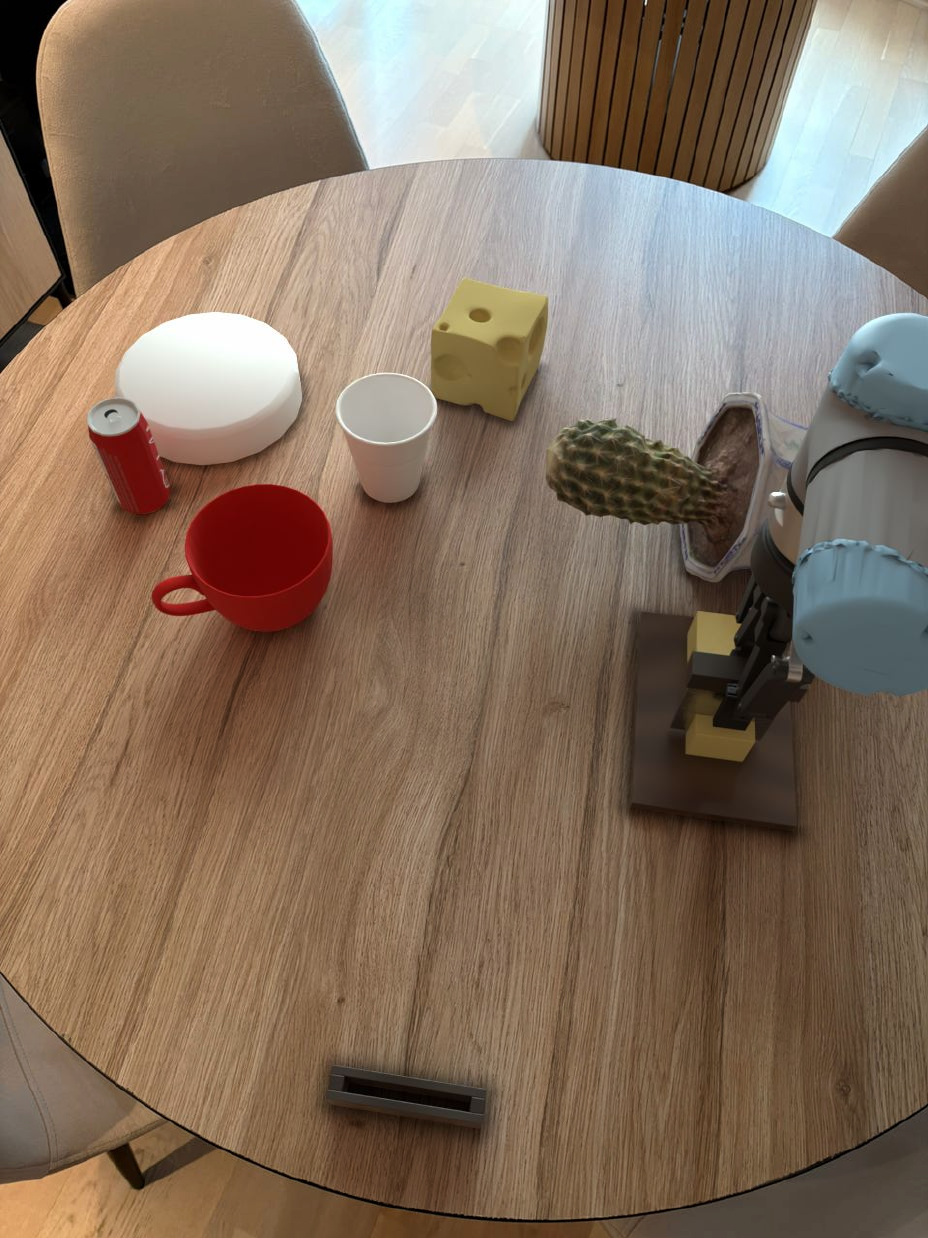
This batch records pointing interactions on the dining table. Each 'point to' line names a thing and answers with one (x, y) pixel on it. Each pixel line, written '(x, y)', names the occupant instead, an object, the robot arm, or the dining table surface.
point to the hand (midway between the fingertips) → (728, 709)
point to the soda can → (128, 455)
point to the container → (212, 386)
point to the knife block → (407, 1084)
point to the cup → (387, 432)
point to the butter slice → (718, 740)
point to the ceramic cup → (255, 558)
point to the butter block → (712, 633)
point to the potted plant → (683, 479)
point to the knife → (715, 689)
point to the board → (693, 781)
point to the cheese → (488, 346)
